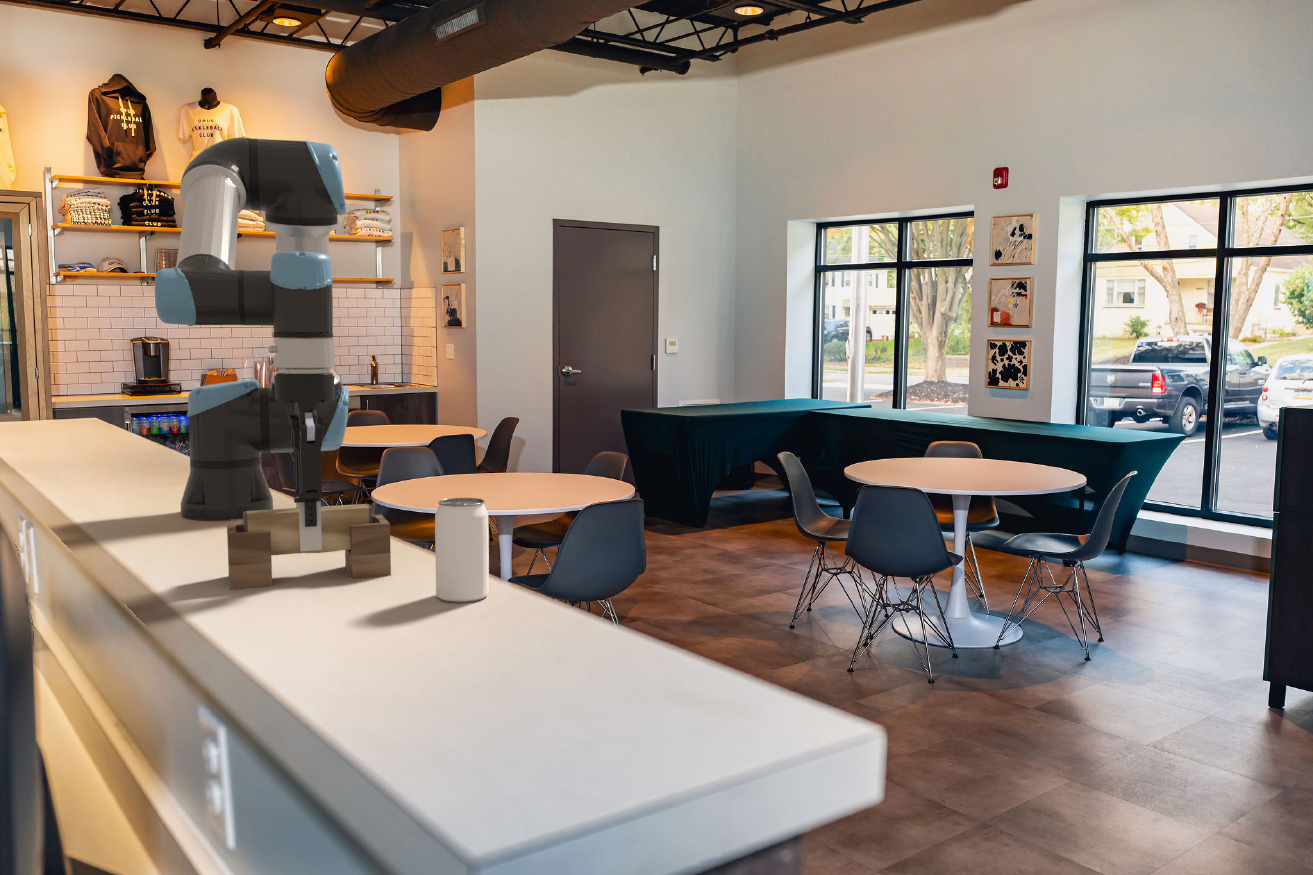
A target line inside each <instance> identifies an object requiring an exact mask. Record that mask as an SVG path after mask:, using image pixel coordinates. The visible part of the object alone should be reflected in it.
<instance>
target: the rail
mask: <svg viewBox="0 0 1313 875" xmlns="http://www.w3.org/2000/svg"><path fill="white" fill-rule="evenodd" d="M372 515H373V507H372V506H371V505H370V504H369V503H363V504H362V503H360V504H345V505H343V504H342V505H328V506H325V505H324V506H321V533H322V550H314V551H301V552H300V537H299V508H296V507H293V508H291V507H290V508H278V509H277V508H276V509H275V508H273V510H257V511H243V518H242V519H243V520H242V521H243V522H242V523H243V525H244V532H251V531H266V530H270V532H271V556H280V555H283V556H284V555H295V554H308V553H322V552H333V551H334V552H335V551H336V552H337V551H345V550H350V549H351V539H350V525H354V524H369V523H372Z"/></svg>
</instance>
